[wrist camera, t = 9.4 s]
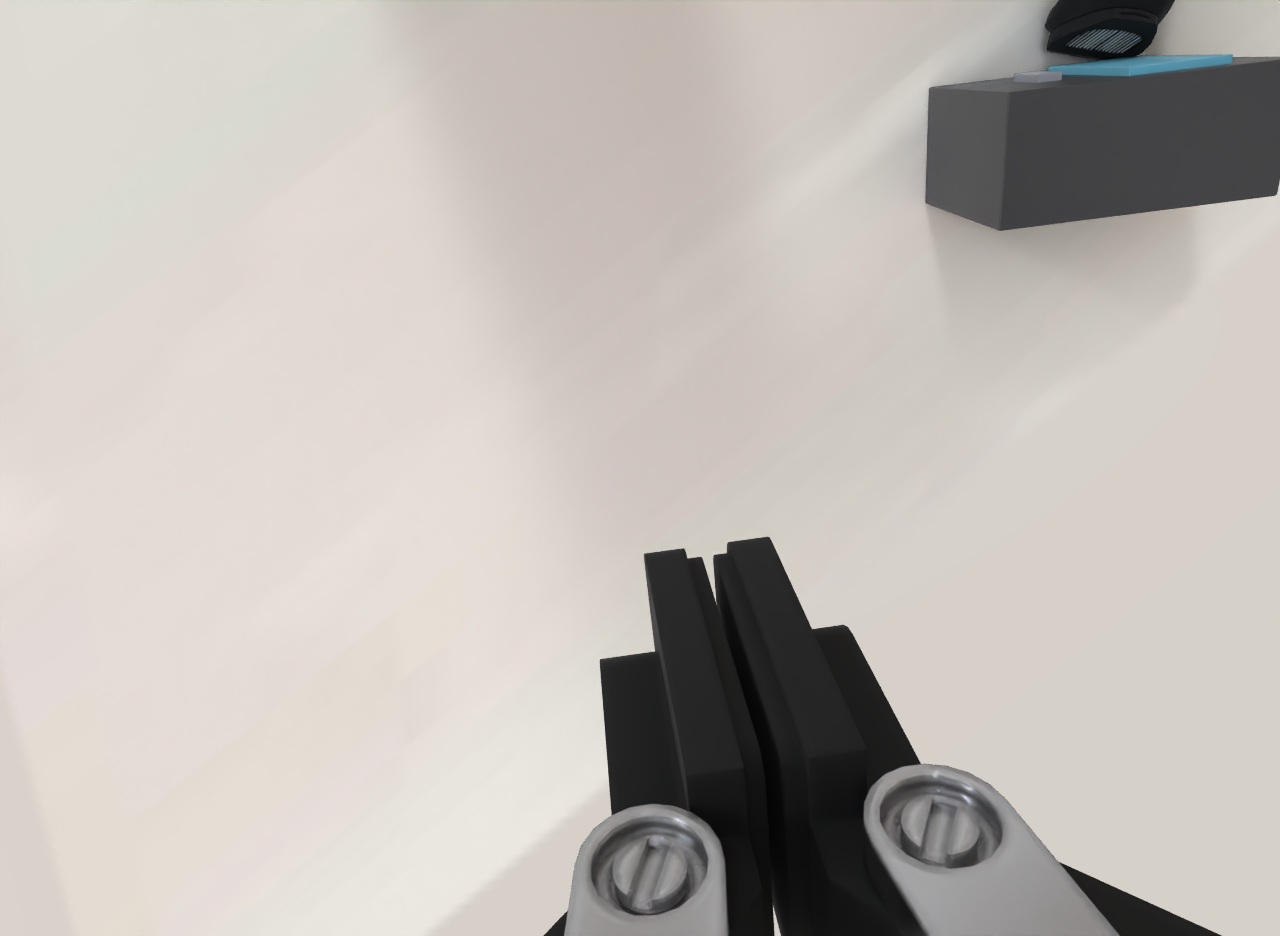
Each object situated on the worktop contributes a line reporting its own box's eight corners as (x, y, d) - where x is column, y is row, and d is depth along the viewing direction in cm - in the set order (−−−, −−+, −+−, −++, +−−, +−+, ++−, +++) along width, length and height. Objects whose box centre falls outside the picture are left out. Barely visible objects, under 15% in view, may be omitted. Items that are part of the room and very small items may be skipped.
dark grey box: (1009, 83, 25) (1307, 46, 26) (928, 80, 31) (1175, 49, 31) (999, 231, 27) (1277, 195, 27) (924, 203, 33) (1158, 174, 33)
